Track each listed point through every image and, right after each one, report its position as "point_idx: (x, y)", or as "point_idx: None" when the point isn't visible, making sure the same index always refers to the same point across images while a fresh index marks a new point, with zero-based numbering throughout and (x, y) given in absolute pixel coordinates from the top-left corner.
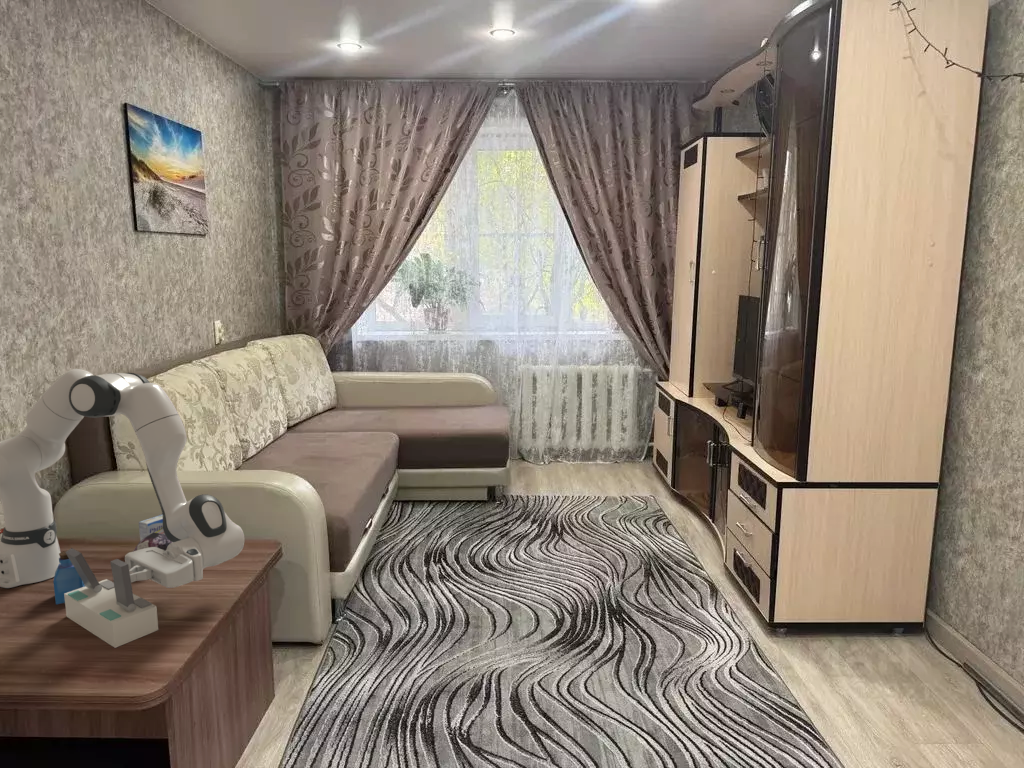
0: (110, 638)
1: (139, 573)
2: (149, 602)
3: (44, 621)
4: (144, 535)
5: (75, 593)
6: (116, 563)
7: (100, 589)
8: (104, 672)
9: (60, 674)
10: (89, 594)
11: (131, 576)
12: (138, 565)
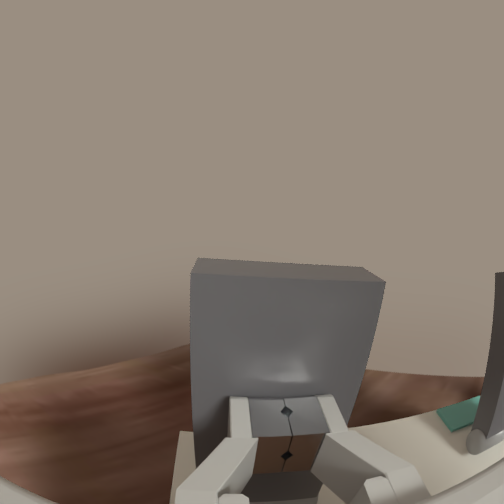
0: None
1: (209, 456)
2: None
3: None
4: None
5: (477, 407)
6: (292, 265)
7: (476, 451)
8: (105, 411)
9: (183, 382)
10: (467, 435)
11: (229, 415)
12: (410, 494)
